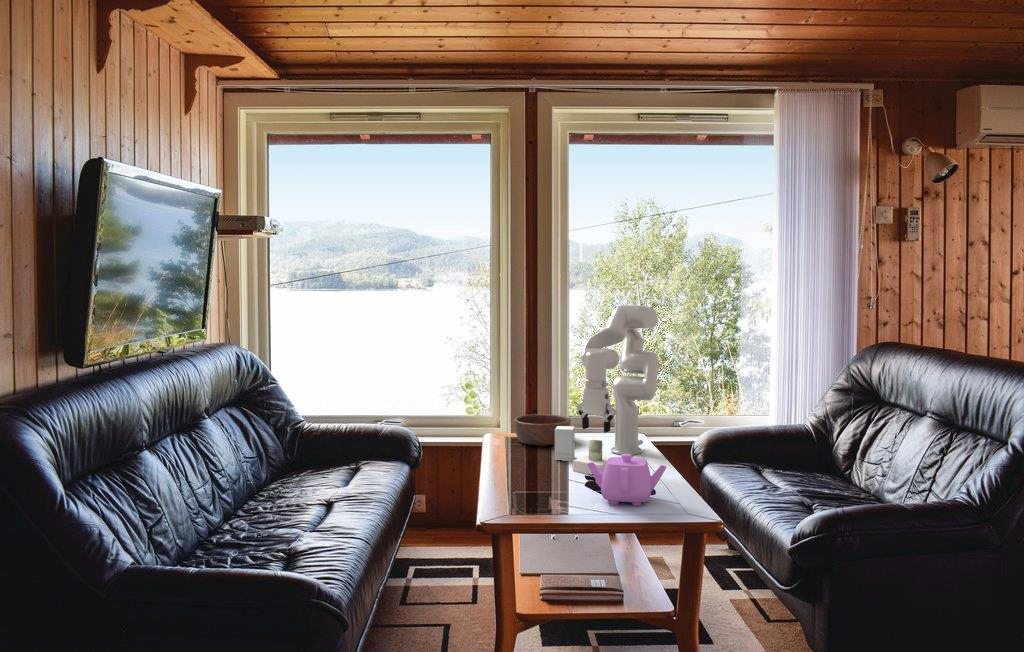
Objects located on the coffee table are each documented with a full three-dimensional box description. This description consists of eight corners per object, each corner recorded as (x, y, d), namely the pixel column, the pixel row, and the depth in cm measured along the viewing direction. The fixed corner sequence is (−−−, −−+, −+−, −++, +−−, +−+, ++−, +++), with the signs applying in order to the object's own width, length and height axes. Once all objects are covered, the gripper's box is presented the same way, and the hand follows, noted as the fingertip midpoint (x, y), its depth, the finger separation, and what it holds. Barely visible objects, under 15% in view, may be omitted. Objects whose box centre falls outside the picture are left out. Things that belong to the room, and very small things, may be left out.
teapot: (668, 502, 238) (668, 456, 237) (626, 513, 227) (626, 464, 226) (626, 489, 253) (626, 445, 253) (585, 498, 243) (585, 452, 242)
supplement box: (572, 461, 293) (572, 429, 292) (554, 460, 294) (554, 429, 294) (575, 457, 300) (575, 426, 300) (556, 456, 302) (556, 425, 301)
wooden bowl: (518, 435, 344) (517, 413, 343) (572, 436, 340) (572, 414, 340) (510, 447, 319) (510, 423, 318) (568, 449, 316) (568, 424, 315)
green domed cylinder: (593, 457, 282) (593, 439, 282) (604, 459, 279) (604, 441, 278) (586, 459, 278) (586, 441, 278) (597, 462, 275) (597, 443, 275)
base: (591, 464, 287) (591, 454, 287) (618, 470, 279) (618, 459, 279) (573, 470, 278) (573, 460, 278) (599, 476, 270) (599, 465, 270)
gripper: (621, 385, 274) (621, 431, 275) (583, 381, 286) (583, 425, 287) (609, 388, 268) (609, 435, 270) (571, 383, 280) (571, 428, 281)
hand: (596, 430), depth 278 cm, fingers open, 9 cm apart
